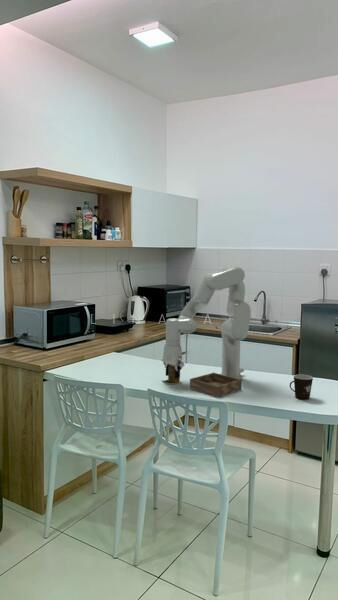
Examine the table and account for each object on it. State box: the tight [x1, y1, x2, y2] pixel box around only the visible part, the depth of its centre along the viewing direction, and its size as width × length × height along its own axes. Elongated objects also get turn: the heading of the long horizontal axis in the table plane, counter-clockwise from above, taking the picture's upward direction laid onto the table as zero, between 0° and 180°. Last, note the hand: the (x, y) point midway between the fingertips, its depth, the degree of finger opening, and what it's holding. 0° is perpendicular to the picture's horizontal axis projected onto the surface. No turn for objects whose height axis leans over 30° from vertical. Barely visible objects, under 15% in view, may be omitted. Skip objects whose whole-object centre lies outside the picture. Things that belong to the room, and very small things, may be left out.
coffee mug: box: [289, 373, 314, 401], centre depth 213 cm, size 12×9×10 cm
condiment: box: [162, 365, 183, 385], centre depth 237 cm, size 7×8×12 cm
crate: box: [189, 372, 243, 398], centre depth 225 cm, size 18×18×5 cm
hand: (172, 376), depth 237 cm, fingers closed on condiment, 6 cm apart
